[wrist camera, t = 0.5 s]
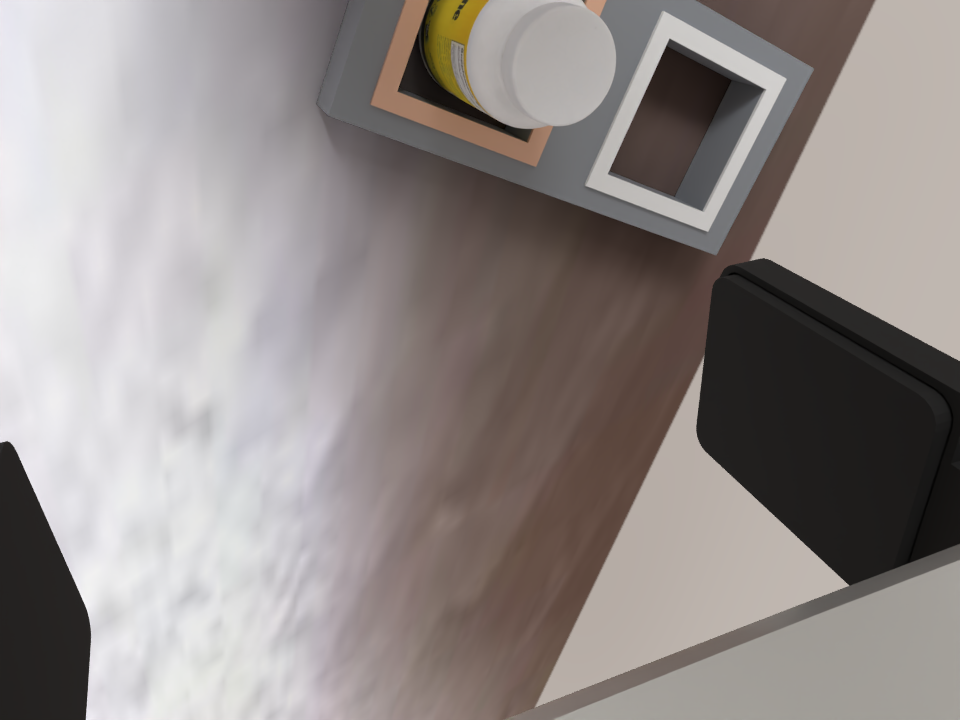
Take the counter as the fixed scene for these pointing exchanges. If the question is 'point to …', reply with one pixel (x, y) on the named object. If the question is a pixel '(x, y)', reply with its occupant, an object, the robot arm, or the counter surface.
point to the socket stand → (597, 138)
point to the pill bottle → (520, 58)
